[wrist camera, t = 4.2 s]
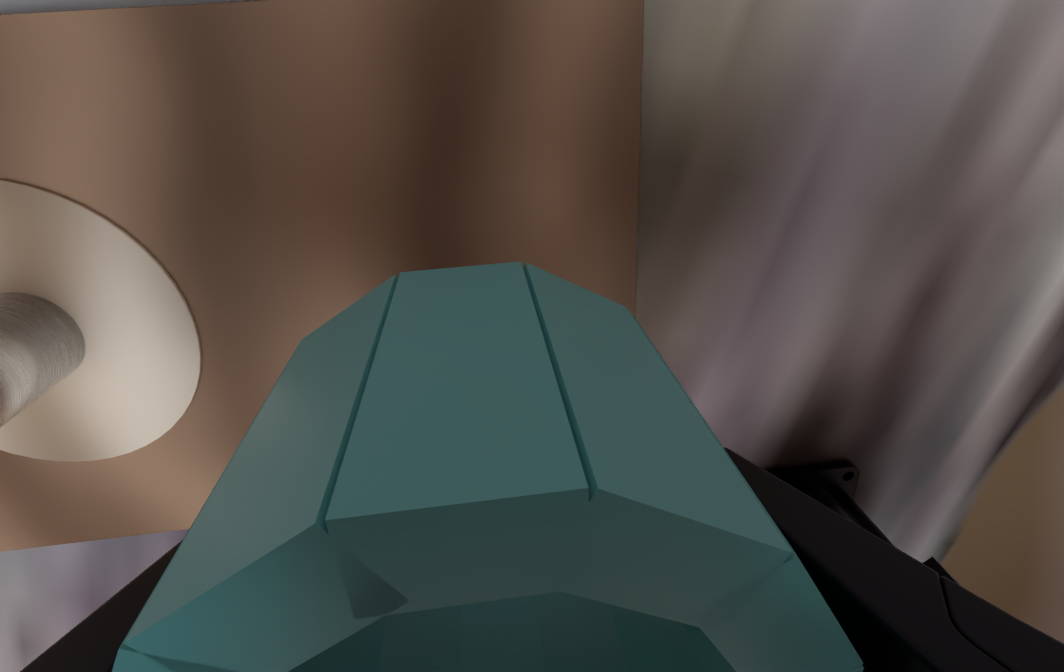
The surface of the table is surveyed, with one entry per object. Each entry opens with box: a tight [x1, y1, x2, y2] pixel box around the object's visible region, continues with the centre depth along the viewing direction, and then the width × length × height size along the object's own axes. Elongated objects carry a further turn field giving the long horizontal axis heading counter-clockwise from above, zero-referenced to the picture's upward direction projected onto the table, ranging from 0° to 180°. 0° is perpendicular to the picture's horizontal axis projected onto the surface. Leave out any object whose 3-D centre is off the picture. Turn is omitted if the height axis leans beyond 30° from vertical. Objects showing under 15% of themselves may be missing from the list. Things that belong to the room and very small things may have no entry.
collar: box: [112, 261, 864, 672], centre depth 8 cm, size 7×7×5 cm
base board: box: [0, 0, 644, 552], centre depth 17 cm, size 24×16×2 cm, turn 93°
